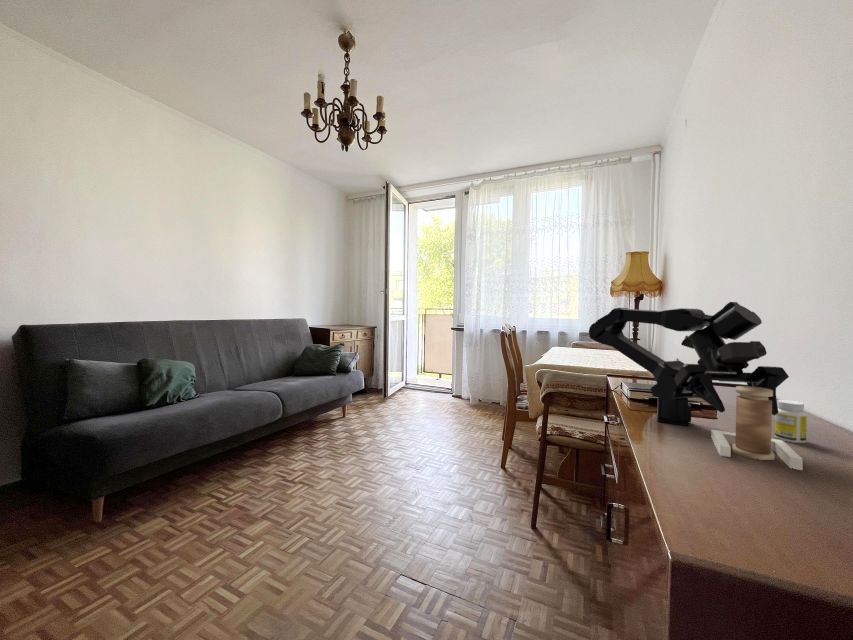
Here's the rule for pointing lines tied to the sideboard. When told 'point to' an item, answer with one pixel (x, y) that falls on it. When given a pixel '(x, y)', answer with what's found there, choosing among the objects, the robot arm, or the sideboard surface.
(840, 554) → the sideboard surface
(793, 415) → the supplement bottle
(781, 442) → the white u-shaped piece
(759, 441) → the bobbin
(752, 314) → the robot arm
